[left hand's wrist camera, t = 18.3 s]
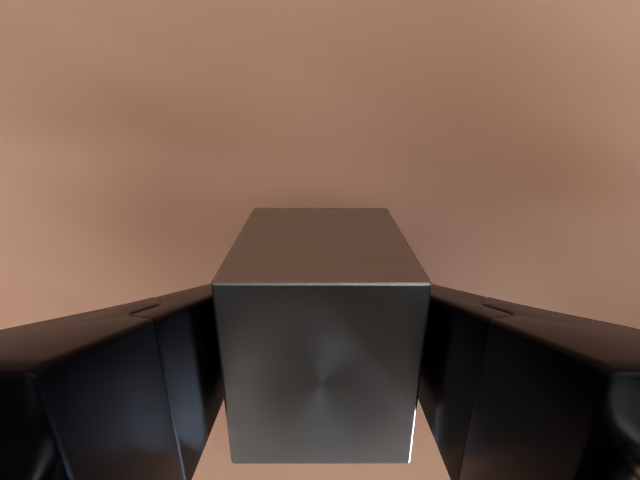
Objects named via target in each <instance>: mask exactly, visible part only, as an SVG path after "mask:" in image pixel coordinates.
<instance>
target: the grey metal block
mask: <svg viewBox="0 0 640 480" xmlns="http://www.w3.org/2000/svg"><path fill="white" fill-rule="evenodd" d="M431 287H432V283H431V281H430V279H429V278H428V276H427V274H426V273H425V271H424V269H423V268H422V266H421V264H420V263H419V261H418V259H417V258H416V256H415V254H414V253H413V251H412V249H411V248H410V246H409V244H408V243H407V241H406V239H405V238H404V236H403V234H402V233H401V231H400V229H399V228H398V226H397V224H396V223H395V221H394V219H393V218H392V216H391V214H390V213H389V211H388V209H386V208H255V209H254V210H253V212H252V213H251V215H250V217H249V218H248V220H247V222H246V224H245V225H244V227H243V229H242V230H241V232H240V234H239V236H238V237H237V239H236V241H235V242H234V244H233V246H232V248H231V249H230V251H229V253H228V255H227V256H226V258H225V260H224V261H223V263H222V265H221V267H220V268H219V270H218V272H217V273H216V275H215V277H214V279H213V280H212V282H211V291H212V299H213V308H214V316H215V325H216V333H217V342H218V350H219V359H220V367H221V376H222V384H223V393H224V401H225V410H226V418H227V427H228V435H229V444H230V452H231V460H232V463H409V462H410V459H411V450H412V442H413V434H414V426H415V418H416V410H417V401H418V393H419V385H420V377H421V369H422V361H423V352H424V344H425V336H426V328H427V320H428V312H429V303H430V295H431Z"/></svg>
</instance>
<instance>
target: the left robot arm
mask: <svg viewBox="0 0 640 480" xmlns="http://www.w3.org/2000/svg"><path fill="white" fill-rule="evenodd" d="M223 399H224V393H223V384H222V376H221V367H220V359H219V350H218V342H217V333H216V325H215V316H214V308H213V299H212V291H211V284H208V285H204V286H200V287H196V288H192V289H187V290H183V291H179V292H175V293H171V294H167V295H163V296H159V297H156V298H155V297H153V298H149V299H144V300H140V301H136V302H132V303H127V304H123V305H118V306H114V307H109V308H104V309H99V310H95V311H90V312H85V313H80V314H75V315H70V316H66V317H61V318H56V319H51V320H46V321H41V322H37V323H32V324H27V325H22V326H17V327H12V328H7V329H3V330H0V480H192V477H193V475H194V472H195V470H196V467H197V465H198V462H199V460H200V457H201V455H202V452H203V450H204V447H205V445H206V442H207V440H208V437H209V435H210V432H211V430H212V427H213V425H214V422H215V419H216V417H217V414H218V412H219V409H220V407H221V404H222V402H223ZM418 399H419V402H420V404H421V407H422V409H423V412H424V414H425V417H426V419H427V422H428V424H429V427H430V429H431V432H432V434H433V436H434V439H435V441H436V444H437V446H438V449H439V451H440V454H441V456H442V459H443V461H444V464H445V466H446V469H447V471H448V474H449V476H450V478H451V480H640V329H636V328H631V327H626V326H621V325H617V324H612V323H607V322H602V321H597V320H592V319H587V318H582V317H578V316H573V315H568V314H563V313H558V312H553V311H548V310H543V309H539V308H534V307H529V306H525V305H520V304H515V303H511V302H507V301H502V300H498V299H494V298H490V297H488V298H486V297H484V296H479V295H475V294H471V293H467V292H463V291H459V290H455V289H451V288H446V287H442V286H438V285H434V284H432V287H431V295H430V303H429V312H428V320H427V328H426V336H425V344H424V352H423V361H422V369H421V377H420V385H419V393H418Z"/></svg>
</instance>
